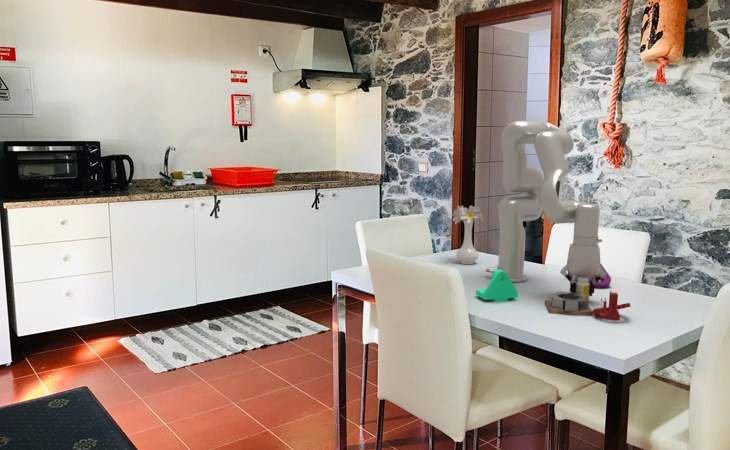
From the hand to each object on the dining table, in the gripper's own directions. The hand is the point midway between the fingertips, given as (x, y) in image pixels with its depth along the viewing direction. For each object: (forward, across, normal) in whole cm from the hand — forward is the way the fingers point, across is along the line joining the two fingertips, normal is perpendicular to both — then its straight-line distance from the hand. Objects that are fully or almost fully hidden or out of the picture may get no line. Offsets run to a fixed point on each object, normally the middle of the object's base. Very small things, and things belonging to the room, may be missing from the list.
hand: (581, 294), depth 204 cm
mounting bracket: (+3, -8, -28) cm, 29 cm away
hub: (+1, +6, +11) cm, 13 cm away
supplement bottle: (+3, 0, 0) cm, 3 cm away
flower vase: (+3, +38, -54) cm, 66 cm away
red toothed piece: (+3, -5, +17) cm, 18 cm away
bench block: (+2, +6, +11) cm, 13 cm away
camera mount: (+3, +28, +2) cm, 28 cm away
